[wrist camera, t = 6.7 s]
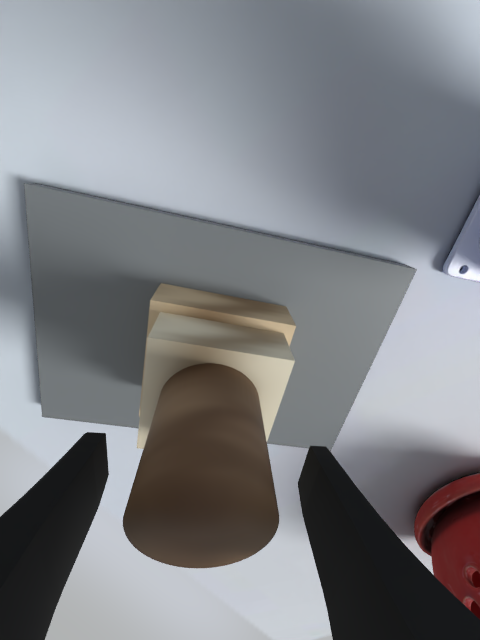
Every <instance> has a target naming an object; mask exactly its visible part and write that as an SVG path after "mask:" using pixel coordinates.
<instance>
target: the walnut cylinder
mask: <svg viewBox="0 0 480 640" xmlns="http://www.w3.org/2000/svg"><path fill="white" fill-rule="evenodd" d="M278 524H279V512H278V507H277V501H276V495H275V489H274V483H273V477H272V471H271V465H270V459H269V454H268V448H267V442H266V436H265V430H264V424H263V418H262V412H261V406H260V400H259V395H258V392H257V389H256V387H255V386H254V384H253V383H252V381H251V380H250V379H249V378H248V377H247V376H246V375H244V374H243V373H242V372H240V371H238V370H236V369H234V368H232V367H229V366H226V365H222V364H215V363H205V364H197V365H193V366H189V367H187V368H184V369H182V370H180V371H179V372H177V373H175V374H174V375H173V376H172V377H170V379H169V380H168V381H167V382H166V383H165V385H164V386H163V388H162V390H161V393H160V396H159V400H158V403H157V406H156V410H155V413H154V416H153V420H152V423H151V426H150V430H149V433H148V436H147V440H146V443H145V446H144V450H143V453H142V456H141V460H140V463H139V466H138V470H137V473H136V476H135V480H134V483H133V486H132V490H131V493H130V496H129V500H128V503H127V506H126V510H125V513H124V516H123V527H124V531H125V534H126V536H127V538H128V539H129V541H130V542H131V544H133V546H134V547H135V548H137V549H138V550H139V551H140V552H141V553H143V554H145V555H146V556H148V557H150V558H152V559H154V560H157V561H159V562H162V563H165V564H169V565H173V566H178V567H185V568H211V567H219V566H224V565H228V564H232V563H235V562H238V561H241V560H243V559H246V558H248V557H250V556H252V555H254V554H255V553H257V552H258V551H260V550H261V549H262V548H264V547H265V546H266V545H267V544H268V543H269V542H270V541H271V539H272V538H273V536H274V535H275V533H276V531H277V528H278Z"/></svg>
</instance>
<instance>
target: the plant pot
mask: <svg viewBox="0 0 480 640" xmlns="http://www.w3.org/2000/svg"><path fill="white" fill-rule="evenodd" d="M414 532H415V537H416V541H417V543H418V545H419V546H420V548H421V549H422V550H423V551H424V552H425V553H427V554H428V555H430V556H432V565H433V572H434V576H435V577H436V578H437V579H438V580H439V581H440V582H441V583H442V584H443V585H444V586H445V587H446V588H447V589H448V590H449V591H450V592H451V593H452V594H453V595H454V596H455V597H456V598H457V599H459V600H460V601H461V602H462V603H463V604H464V605H465V606H466V607H467V608H468V609H469V610H470V611H471V612H472V613H473V614H474V615H475V616H476V617H478V618H479V619H480V473H478V474H474V475H470V476H466V477H463V478H460V479H458V480H455V481H453V482H451V483H449V484H447V485H445V486H443V487H442V488H440V489H439V490H437V491H436V492H434V493H433V494H432V495H431V496H430V497H429V498H428V499H427V500H426V501H425V502H424V503H423V505H422V506H421V508H420V509H419V511H418V514H417V516H416V520H415V525H414Z"/></svg>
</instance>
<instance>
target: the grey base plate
mask: <svg viewBox="0 0 480 640" xmlns="http://www.w3.org/2000/svg"><path fill="white" fill-rule="evenodd" d="M24 191H25V203H26V216H27V229H28V242H29V254H30V267H31V280H32V293H33V306H34V318H35V331H36V344H37V357H38V370H39V382H40V395H41V408H42V417H47V418H56V419H64V420H73V421H81V422H90V423H98V424H107V425H115V426H123V427H132V428H139V420H140V417H139V410H140V400H141V390H142V380H143V370H144V359H145V349H146V339H147V329H148V318H149V308H150V300H151V298H152V296H153V295H154V293H155V292H156V290H157V288H158V287H159V285H160V284H161V283H163V284H168V285H174V286H179V287H184V288H190V289H195V290H201V291H206V292H211V293H217V294H222V295H227V296H233V297H238V298H243V299H249V300H254V301H259V302H265V303H270V304H275V305H281V306H286V307H287V309H288V311H289V313H290V315H291V317H292V319H293V321H294V323H295V324H296V328H295V331H294V334H293V337H292V340H291V343H290V346H289V347H290V350H291V352H292V355H293V357H294V360H295V363H294V365H293V368H292V371H291V374H290V377H289V380H288V383H287V386H286V389H285V391H284V394H283V397H282V400H281V403H280V406H279V409H278V412H277V415H276V417H275V420H274V423H273V426H272V429H271V432H270V435H269V438H268V440H267V444H276V445H284V446H293V447H301V448H309V447H310V446H326V447H327V448H328V449H329V451H331V449H332V447H333V445H334V443H335V441H336V438H337V436H338V434H339V432H340V430H341V428H342V426H343V424H344V422H345V420H346V417H347V415H348V413H349V411H350V409H351V407H352V405H353V403H354V401H355V399H356V396H357V394H358V392H359V390H360V388H361V386H362V384H363V382H364V380H365V378H366V375H367V373H368V371H369V369H370V367H371V365H372V363H373V361H374V359H375V357H376V354H377V352H378V350H379V348H380V346H381V344H382V342H383V340H384V338H385V336H386V333H387V331H388V329H389V327H390V325H391V323H392V321H393V319H394V317H395V315H396V312H397V310H398V308H399V306H400V304H401V302H402V300H403V298H404V296H405V294H406V291H407V289H408V287H409V285H410V283H411V281H412V279H413V277H414V275H415V273H416V270H417V269H414V268H412V267H410V266H408V265H404V264H400V263H395V262H390V261H386V260H381V259H377V258H372V257H368V256H363V255H359V254H354V253H350V252H345V251H341V250H336V249H331V248H327V247H322V246H318V245H313V244H309V243H304V242H300V241H295V240H291V239H286V238H282V237H277V236H273V235H268V234H263V233H259V232H254V231H250V230H245V229H241V228H236V227H232V226H227V225H223V224H218V223H214V222H209V221H205V220H200V219H195V218H191V217H186V216H182V215H177V214H173V213H168V212H164V211H159V210H155V209H150V208H146V207H141V206H136V205H132V204H127V203H123V202H118V201H114V200H109V199H105V198H100V197H96V196H91V195H87V194H82V193H78V192H73V191H68V190H64V189H59V188H55V187H50V186H46V185H41V184H37V183H24Z"/></svg>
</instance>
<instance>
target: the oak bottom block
mask: <svg viewBox="0 0 480 640" xmlns="http://www.w3.org/2000/svg"><path fill="white" fill-rule="evenodd" d="M160 312H165V313H170V314H176V315H182V316H188V317H194V318H199V319H205V320H211V321H217V322H222V323H228V324H234V325H240V326H245V327H251V328H257V329H263V330H268V331H274V332H280V333H284V335H285V338H286V340H287V342H288V345H289V346H290V343H291V340H292V337H293V334H294V331H295V328H296V324H295V323H294V321H293V319H292V317H291V315H290V313H289V311H288V309H287V307H286V306H281V305H275V304H270V303H265V302H259V301H254V300H249V299H243V298H238V297H233V296H227V295H222V294H217V293H211V292H206V291H201V290H195V289H190V288H184V287H179V286H174V285H168V284H163V283H161V284H160V285H159V287H158V288H157V290H156V292H155V293H154V295H153V296H152V298H151V300H150V308H149V318H148V329H147V339H148V336H149V334H150V332H151V330H152V328H153V326H154V324H155V321H156V319H157V317H158V315H159V313H160ZM147 339H146V349H145V359H144V370H145V360H146V350H147ZM144 370H143V380H144ZM143 380H142V390H143ZM142 390H141V400H142ZM141 400H140V410H141ZM140 410H139V417H140Z"/></svg>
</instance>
